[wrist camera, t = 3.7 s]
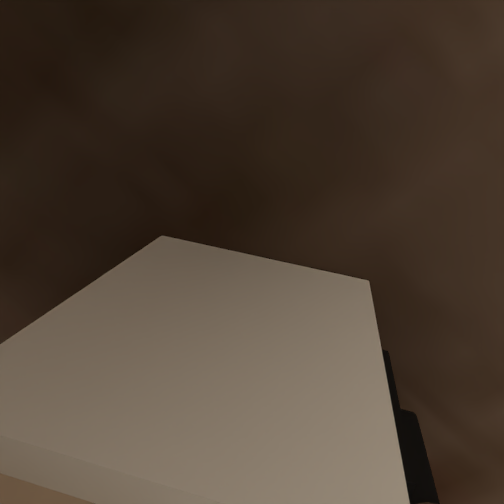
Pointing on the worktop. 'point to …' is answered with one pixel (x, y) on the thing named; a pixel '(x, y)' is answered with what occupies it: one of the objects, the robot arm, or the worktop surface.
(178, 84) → the worktop surface
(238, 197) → the worktop surface
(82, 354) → the white cube
